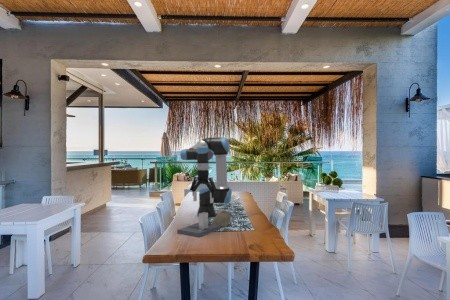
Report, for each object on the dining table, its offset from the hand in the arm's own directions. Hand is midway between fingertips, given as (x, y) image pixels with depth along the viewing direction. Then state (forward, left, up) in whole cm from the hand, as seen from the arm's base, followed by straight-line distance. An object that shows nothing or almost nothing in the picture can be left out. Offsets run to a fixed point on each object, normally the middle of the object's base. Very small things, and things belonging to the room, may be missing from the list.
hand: (203, 202), depth 217 cm
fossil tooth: (0, +22, -21) cm, 30 cm away
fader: (0, 0, -17) cm, 17 cm away
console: (-5, +2, -20) cm, 21 cm away
